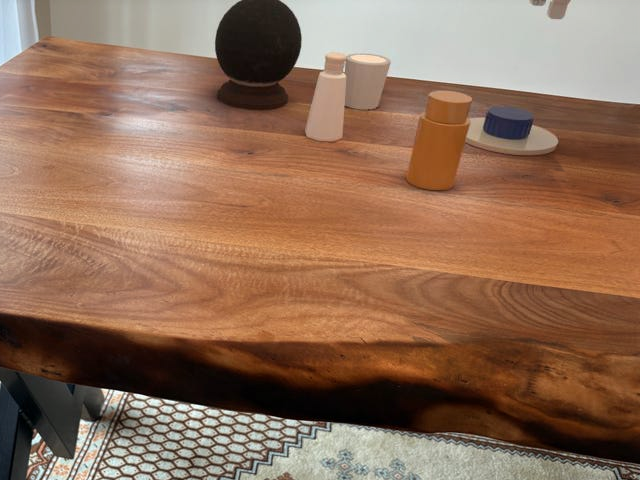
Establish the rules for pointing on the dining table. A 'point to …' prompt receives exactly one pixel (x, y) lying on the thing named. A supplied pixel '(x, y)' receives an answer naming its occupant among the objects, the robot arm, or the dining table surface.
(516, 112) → the lid
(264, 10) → the ball on pedestal
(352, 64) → the white tapered cup
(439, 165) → the jar
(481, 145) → the disc
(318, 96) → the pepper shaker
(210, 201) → the dining table surface
